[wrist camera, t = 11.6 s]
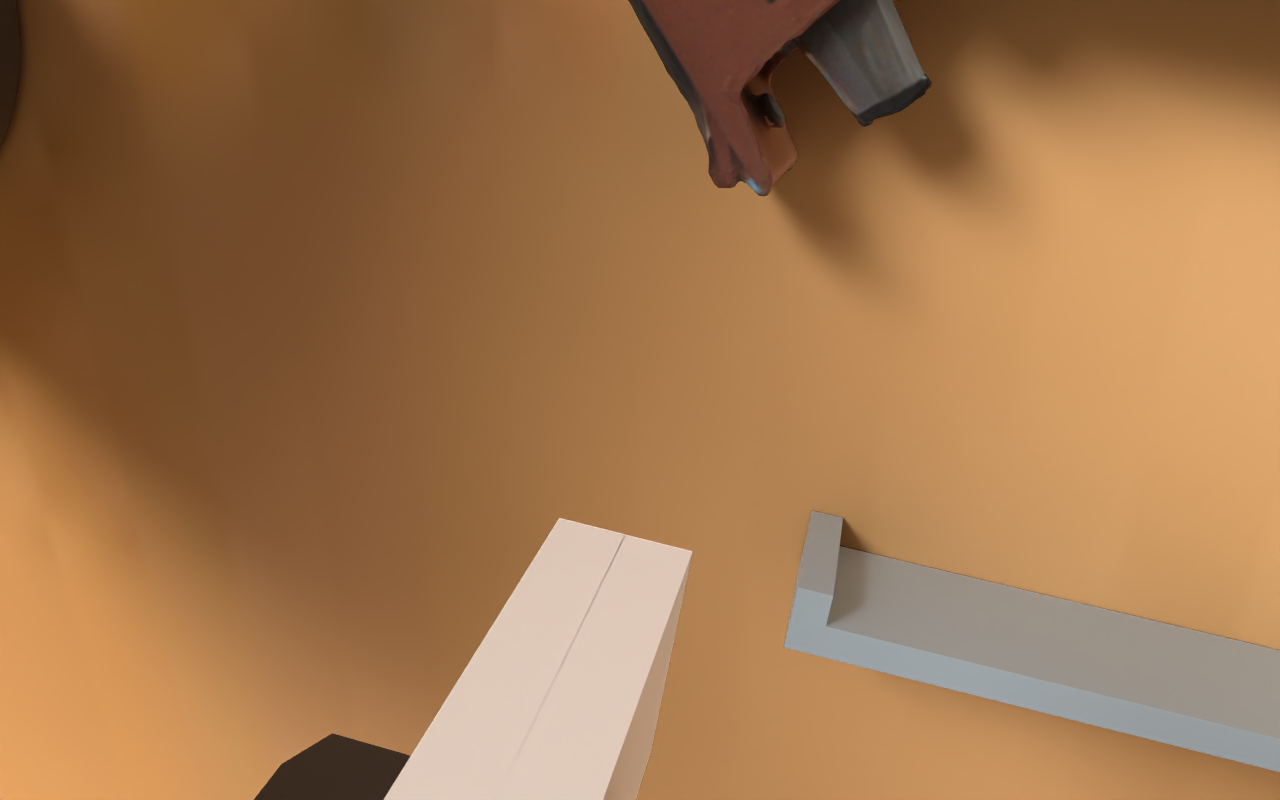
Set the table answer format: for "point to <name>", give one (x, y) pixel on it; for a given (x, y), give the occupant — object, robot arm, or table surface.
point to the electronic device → (749, 54)
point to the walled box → (1035, 650)
